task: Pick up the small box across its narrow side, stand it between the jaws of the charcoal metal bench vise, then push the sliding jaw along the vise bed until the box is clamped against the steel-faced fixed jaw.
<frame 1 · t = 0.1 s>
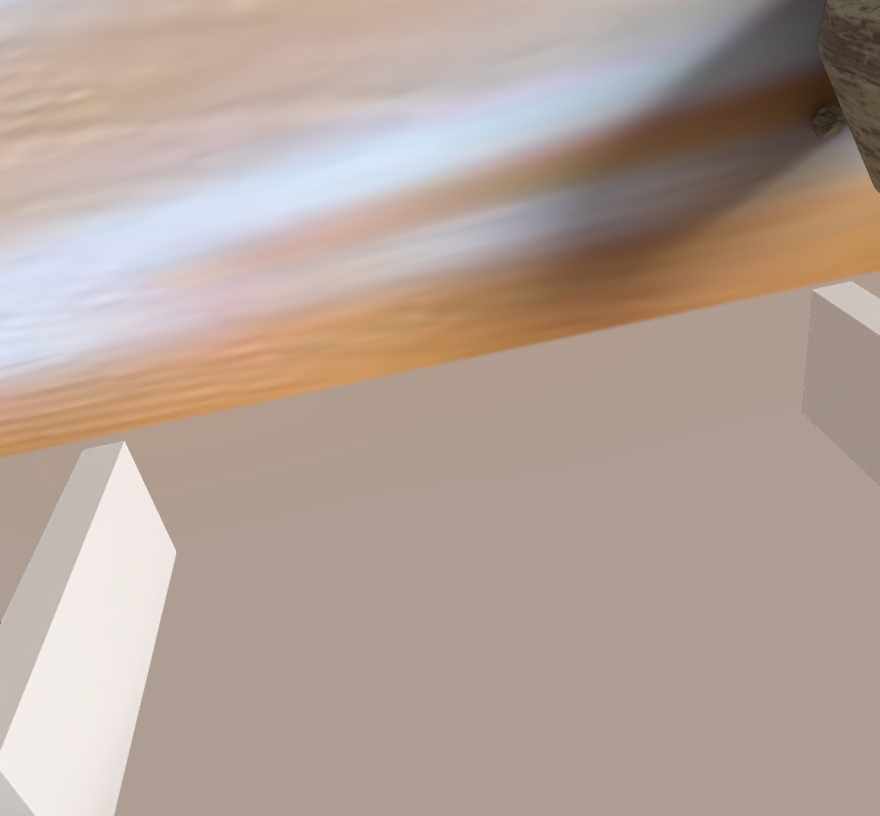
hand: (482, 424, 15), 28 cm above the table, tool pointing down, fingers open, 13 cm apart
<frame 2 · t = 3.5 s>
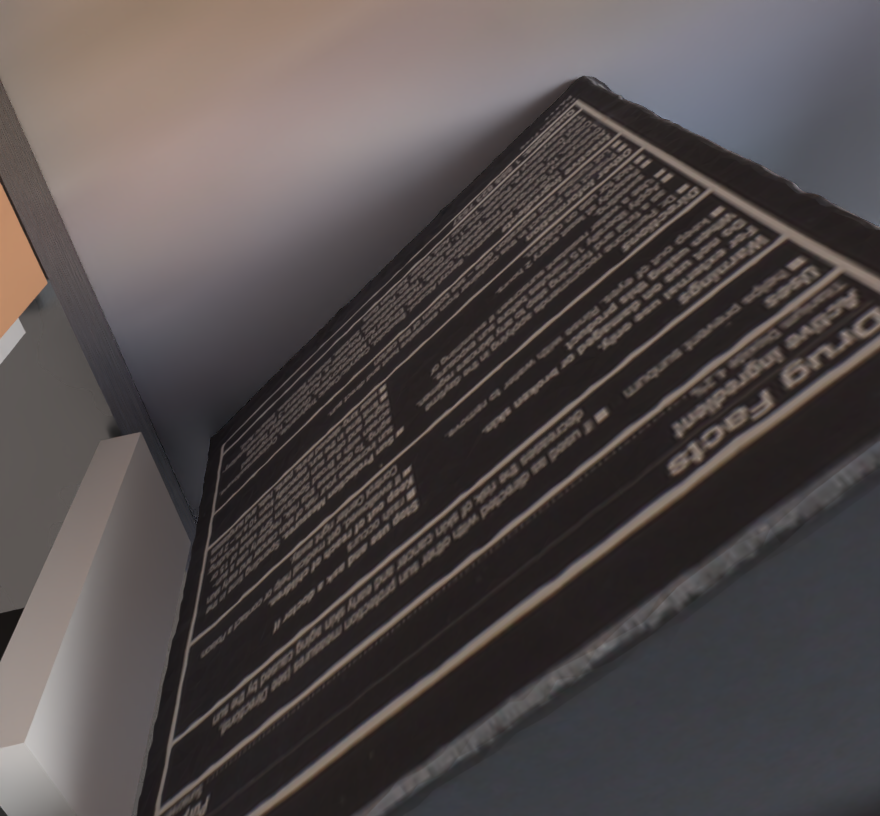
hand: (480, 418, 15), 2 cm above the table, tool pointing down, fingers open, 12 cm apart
small box: (483, 365, 16), on the table, touching gripper
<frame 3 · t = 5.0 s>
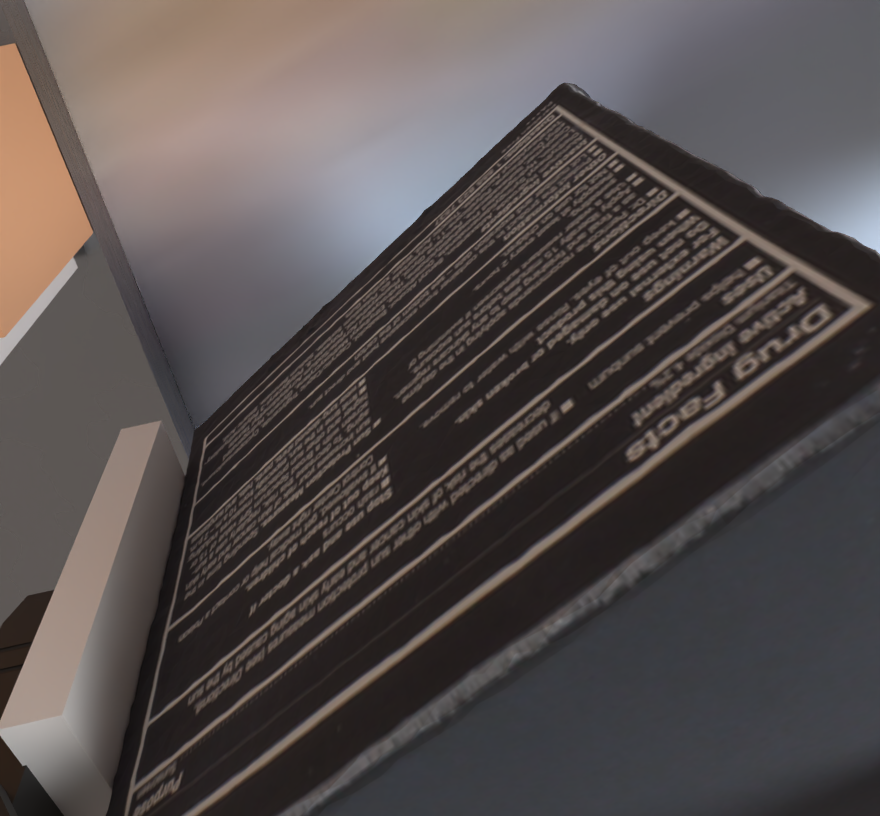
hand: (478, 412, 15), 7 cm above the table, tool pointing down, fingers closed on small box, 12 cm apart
small box: (464, 364, 17), point 5 cm above the table, touching gripper
vise: (29, 552, 23), on the table
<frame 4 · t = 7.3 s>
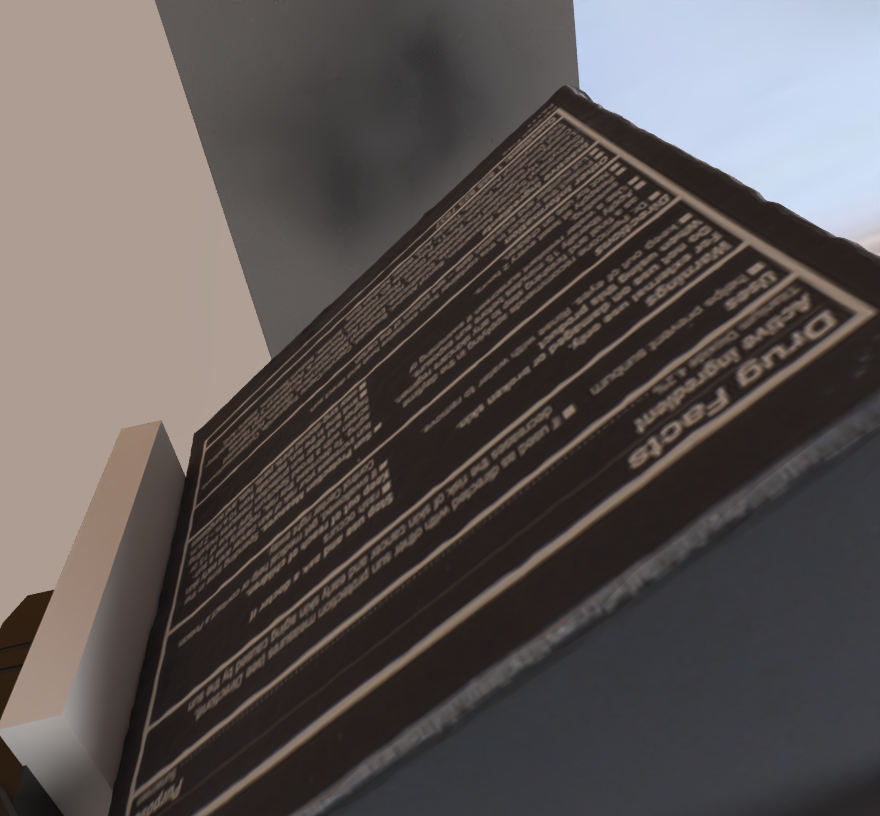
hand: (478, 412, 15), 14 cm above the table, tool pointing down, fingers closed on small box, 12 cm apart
small box: (465, 366, 17), point 12 cm above the table, touching gripper
vise: (401, 168, 27), on the table
when the fingers open (4 cm above the table, at t = 9.6 s): small box drops 1 cm, resting on vise.
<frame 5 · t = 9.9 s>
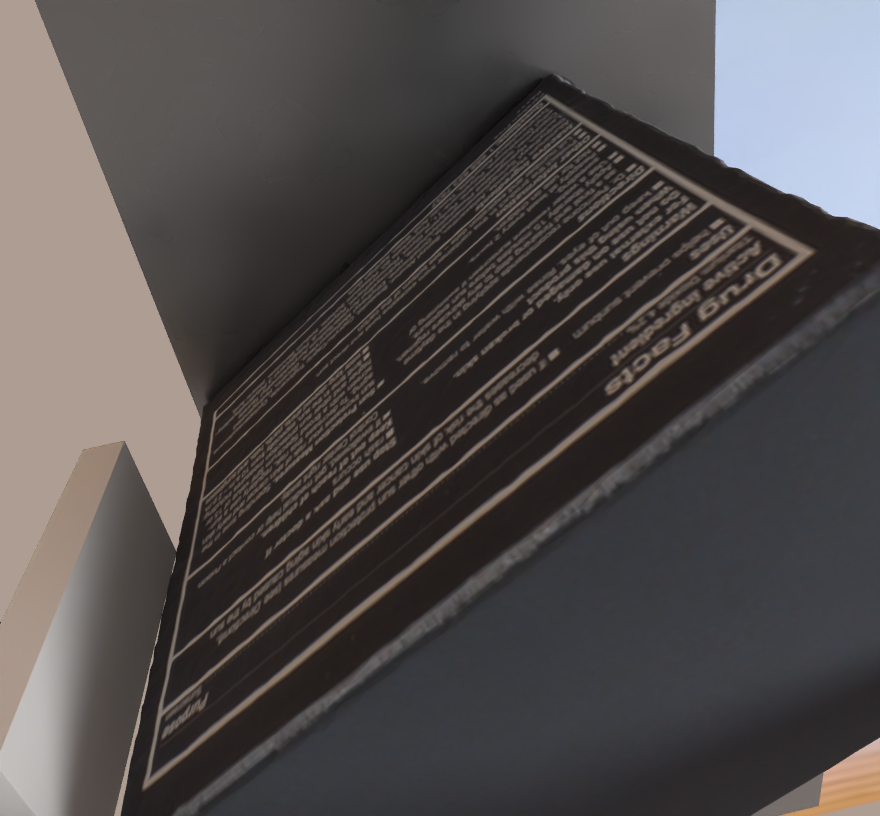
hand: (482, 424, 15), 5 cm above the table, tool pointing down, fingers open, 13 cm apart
small box: (459, 342, 18), point 1 cm above the table, touching vise
vise: (437, 271, 18), on the table
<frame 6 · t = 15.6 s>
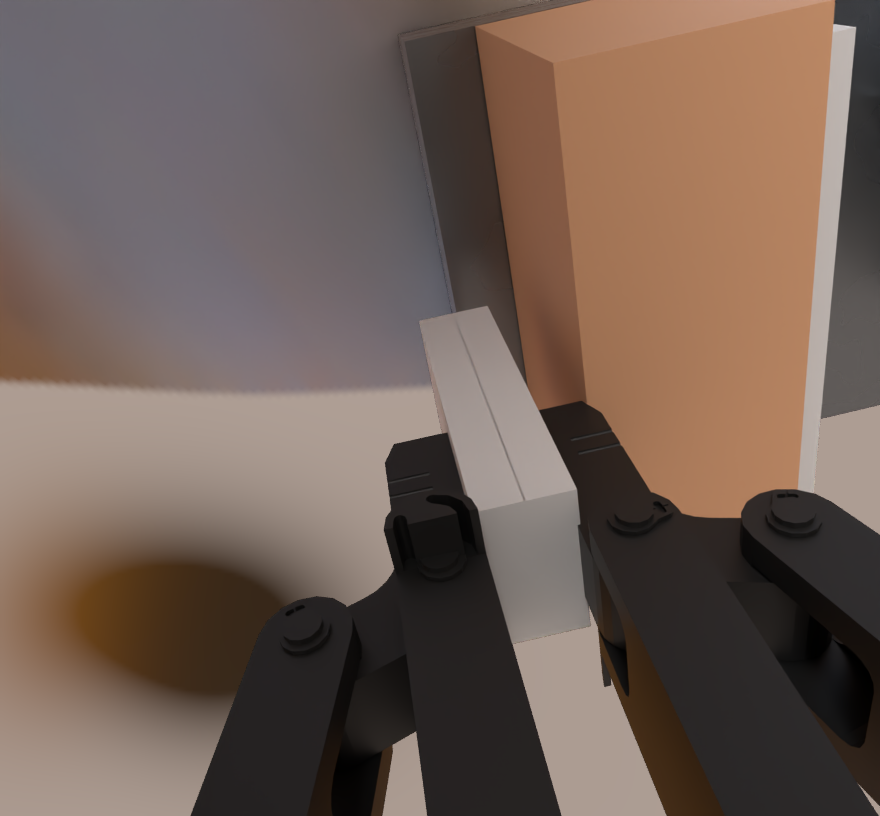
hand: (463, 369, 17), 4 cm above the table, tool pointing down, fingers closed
sliding jaw: (651, 324, 16), point 5 cm above the table, slide at 0.2 cm, touching gripper
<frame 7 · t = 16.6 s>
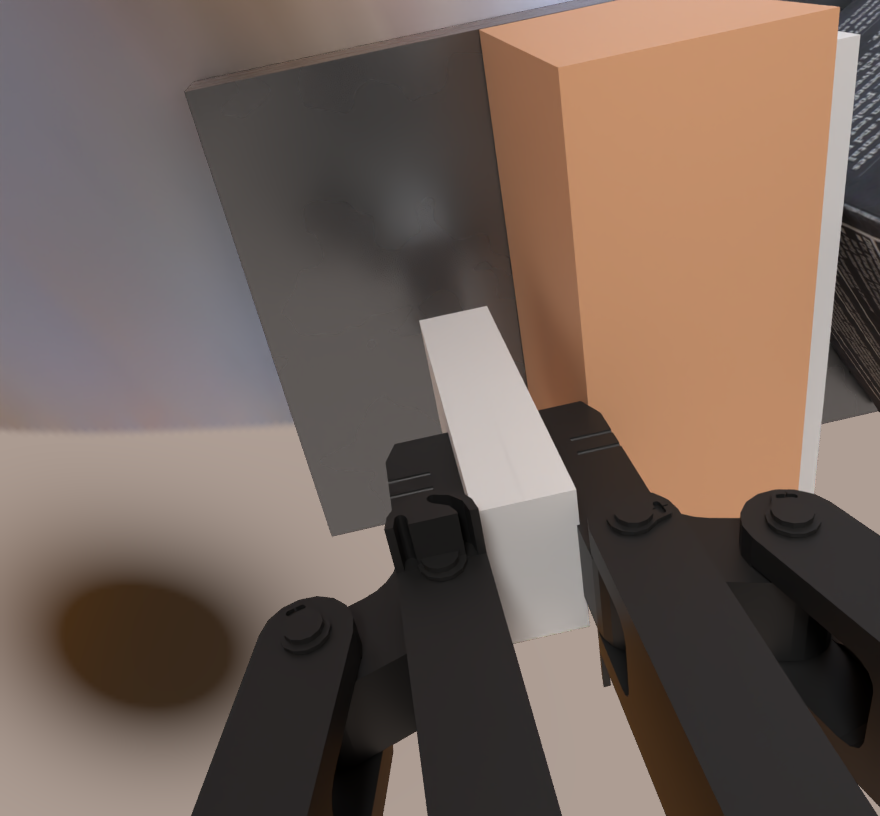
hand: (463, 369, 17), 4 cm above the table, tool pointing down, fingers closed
sliding jaw: (653, 329, 16), point 5 cm above the table, slide at 4.8 cm, touching gripper, small box
vise: (812, 206, 20), on the table
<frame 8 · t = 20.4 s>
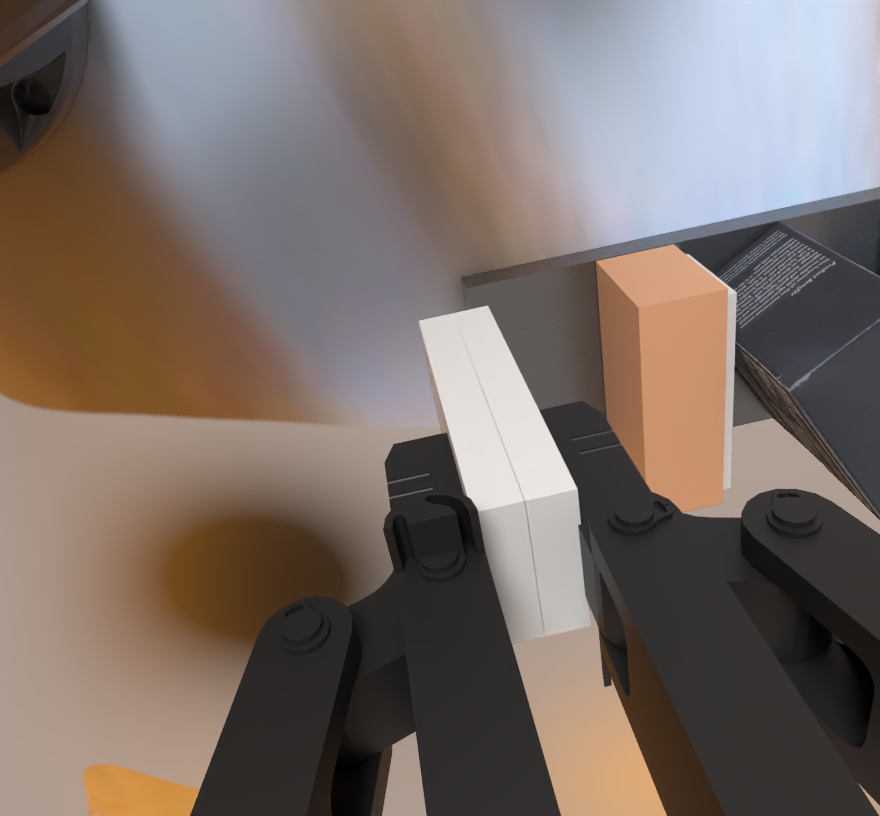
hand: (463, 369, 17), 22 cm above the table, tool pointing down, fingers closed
small box: (776, 323, 42), point 1 cm above the table, touching vise
sliding jaw: (665, 382, 39), point 5 cm above the table, slide at 5.3 cm
vise: (730, 322, 43), on the table
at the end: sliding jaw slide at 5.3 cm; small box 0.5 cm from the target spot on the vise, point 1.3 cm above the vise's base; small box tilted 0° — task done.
